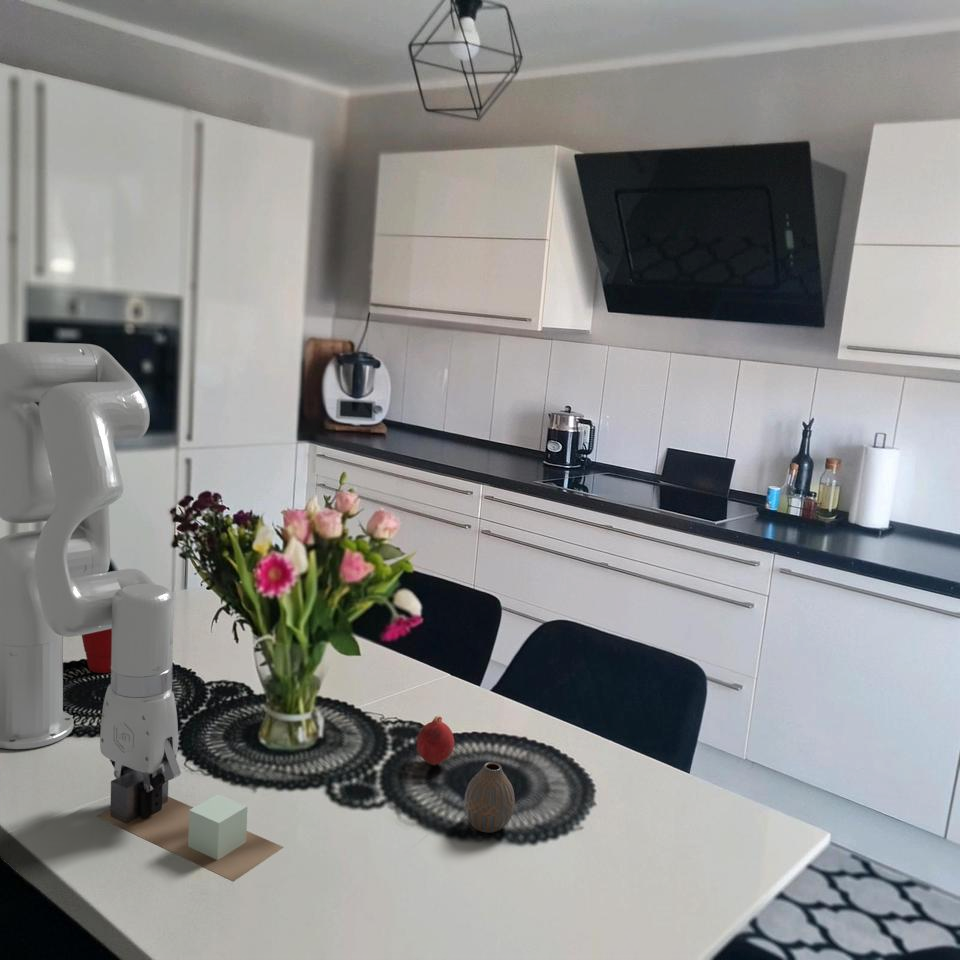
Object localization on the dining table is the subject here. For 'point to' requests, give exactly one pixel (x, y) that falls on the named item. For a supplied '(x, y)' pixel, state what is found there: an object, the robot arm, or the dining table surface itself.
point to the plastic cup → (98, 650)
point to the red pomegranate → (435, 741)
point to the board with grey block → (178, 829)
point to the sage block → (217, 826)
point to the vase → (489, 799)
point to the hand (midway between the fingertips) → (139, 807)
